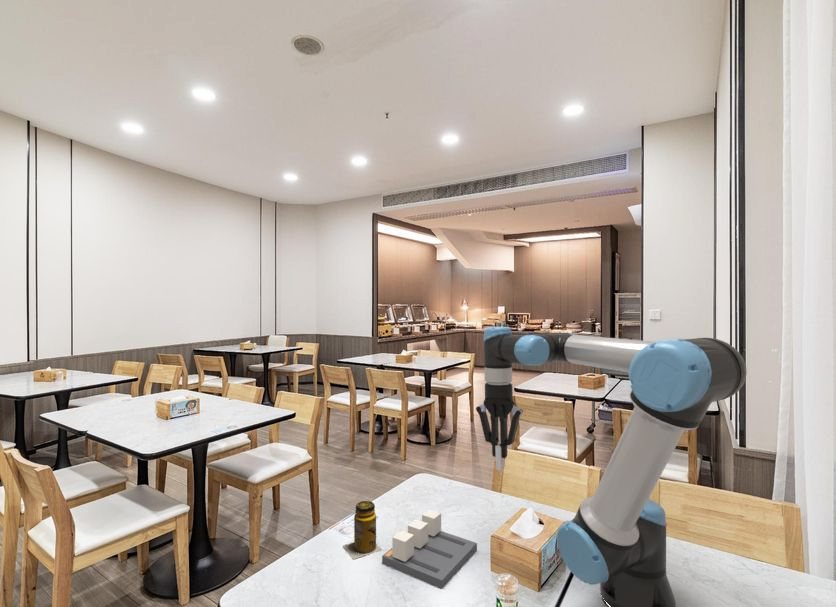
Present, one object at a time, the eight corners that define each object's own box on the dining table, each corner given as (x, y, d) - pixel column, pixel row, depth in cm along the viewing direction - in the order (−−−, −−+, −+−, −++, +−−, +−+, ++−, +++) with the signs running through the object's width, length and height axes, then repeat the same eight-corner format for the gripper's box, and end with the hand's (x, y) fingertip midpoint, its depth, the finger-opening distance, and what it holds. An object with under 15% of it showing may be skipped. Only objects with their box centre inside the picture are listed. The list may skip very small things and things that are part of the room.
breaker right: (441, 530, 122) (441, 512, 122) (434, 536, 119) (434, 518, 119) (429, 526, 124) (429, 509, 124) (422, 532, 121) (422, 514, 121)
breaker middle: (428, 541, 116) (428, 523, 116) (420, 548, 113) (420, 529, 113) (416, 537, 118) (416, 519, 118) (407, 543, 115) (407, 525, 115)
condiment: (381, 549, 117) (381, 506, 117) (353, 560, 112) (353, 514, 112) (369, 537, 123) (369, 496, 123) (342, 547, 118) (342, 503, 118)
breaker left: (414, 554, 110) (414, 534, 110) (405, 561, 107) (405, 541, 107) (401, 549, 112) (401, 530, 112) (392, 556, 109) (392, 537, 109)
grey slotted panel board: (476, 550, 116) (476, 542, 116) (441, 588, 100) (441, 580, 100) (421, 531, 126) (421, 524, 126) (382, 563, 110) (382, 555, 110)
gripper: (525, 382, 117) (527, 468, 116) (481, 379, 123) (482, 461, 123) (517, 386, 110) (519, 478, 110) (471, 383, 117) (472, 469, 116)
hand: (500, 468), depth 116 cm, fingers closed
